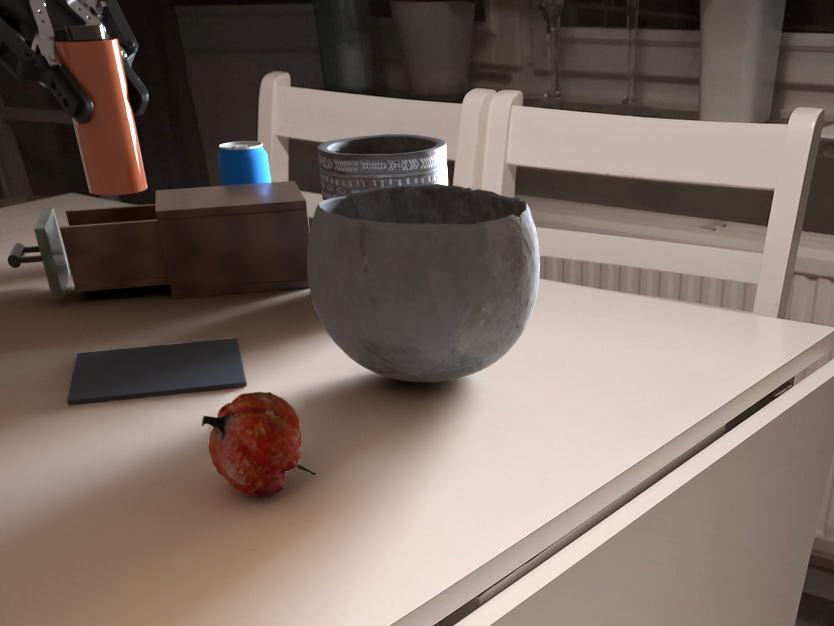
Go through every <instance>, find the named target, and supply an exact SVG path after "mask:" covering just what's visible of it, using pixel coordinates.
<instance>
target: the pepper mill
mask: <svg viewBox="0 0 834 626" xmlns="http://www.w3.org/2000/svg"><path fill="white" fill-rule="evenodd" d="M63 31H64V35H65V39H61V40H56V41H54V42H55V46H56V49H57V52H58V55H59V57H60V61H61V62H60V66H67V68H68V69H69V70H70V72H71V73H72V75H73V76H74V77H75V79H76V80H77V81H78V83H79V84H80V86H81V87H82V88H83V90H84V91H85V93H86V94H87V95H88V97H89V98H90V99H91V101H92V103H93V112H92V115H91V118H90V121H89V123H86V124H79V123H78V122H77V121H76V120H75V118H72V117H71V119H72V123H73V128H74V132H75V137H76V141H77V145H78V149H79V152H80V153H79V154H80V157H81V162H82V167H83V171H84V175H85V179H86V183H87V187H88V191H89V193H90V194H92V195H95V196H107V197H109V196H110V197H111V196H124V195H125V196H126V195H132V194H136V193H141V192H144V191H146V190H148V188H149V187H148V182H147V176H146V170H145V167H144V161H143V156H142V152H141V146H140V142H139V141H140V140H139V136H138V131H137V126H136V121H135V116H134V115H133V111H132V106H131V101H130V96H129V91H128V86H127V81H126V76H125V71H124V66H123V61H122V56H121V51H120V46H119V41H118V38H114V37H106V34H105V29H104V25H103V24H101V23H84V24H68V25H63Z"/></svg>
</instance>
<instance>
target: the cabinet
mask: <svg viewBox="0 0 834 626" xmlns="http://www.w3.org/2000/svg"><path fill="white" fill-rule="evenodd" d="M155 204H156V205H155V212H156V217H157V222H158V227H159V232H160V237H161V242H162V247H163V252H164V257H165V262H166V267H167V272H168V277H169V282H170V284H169V286H170V292H171V297H172V300H177V299H178V300H179V299H188V298H199V297H211V296H212V297H213V296H223V295H235V294H243V293H244V294H245V293H246V294H247V293H255V292H256V293H257V292H269V291H279V290H280V291H281V290H290V289H291V290H292V289H301V288H302V289H303V288H309V281H308V272H307V250H308V241H309V233H310V229H311V228H310V222H309V214H308V203H307V200H306V198H305V196H304V194H303V193H302V191H301V189H300V188H299V186H298V185H297V183H296V181H295V180H287V181H275V182H274V181H273V182H272V181H271V183H256V184H242V185H227V186H222V185H215V186H200V187H187V188H186V187H185V188H184V187H183V188H172V189H157V190H155Z"/></svg>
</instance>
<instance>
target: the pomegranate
mask: <svg viewBox="0 0 834 626" xmlns="http://www.w3.org/2000/svg"><path fill="white" fill-rule="evenodd" d="M205 425H209V426H211V427H212V429H211V431H210V432H209V435H208V441H207V443H208V444H207V449H208V454H209V457H210V460H211V463H212V466H213V467H214V468H215V470H216V472H217V474H219V475H220V476H221V477H222V478H223V479H224V480H225V481H227V483H228V484H229V485H230V486H231V488H233V489H234V490H235V491H237V492H239V493H240V494H242V495H244V496H248V497H249V498H250V497H251V498H272V497H273V496H275V495H277V494H279V493H280V492H282V491H283V490H284V488H285V486H286V482H287V474H286V473H287V472H289V471H292V470H295V469H296V468H297V469H298V470H301V471H303V472H306V473H308V474H310V475H312V476H316V475H317V472H315V471H312V470H311V469H309V468H307V467H305V466H304V465H301V464H299V463H300V462H301V459H302V451H301V446H302V443H303V440H302V439H303V438H302V430H301V424H300V418H299V415H298V413H297V412H296V410H295V408H294V407H293V406H292V405H291V404H289V402H288V401H287V400H286V399H285V398H283V397H281V396H278V395H277V394H274V393H272V392H270V391H268V392H264V391H254V392H247V393H246V392H245V393H241V394H239V395H238V396H237V397H235V398H234V399H233V400H232V401H231V402H228V403H226V404H224V405H222V406H221V407H220V409H218V411H217V416H209V415H203V417H202V421H201V427H204V426H205Z"/></svg>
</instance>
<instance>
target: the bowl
mask: <svg viewBox="0 0 834 626" xmlns="http://www.w3.org/2000/svg"><path fill="white" fill-rule="evenodd" d="M309 229H310V233H309V241H308V250H307V272H308V281H309V287H308V288H309V293H310V297H311V300H312V304H313V307H314V310H315V312H316V315H317V317H318V319H319V321H320V323H321V324H322V326H323V328H324V330H325V332H326V333H327V335H328V336H329V337H330V339H331V340H332V342H334V344H335V345H336V346H337V347H338V348H339V349H340V350H341V351H342V352H344V354H345V355H346V356H347V357H348V358H349V359H351V360H352V361H353V362H355V364H358V365H360V366H361V367H363V368H365V369H366V370H368V371H370V372H372V373H375V374H377V375H380V376H383V377H385V378H388V379H392V380H397V381H402V382H411V383H425V384H426V383H440V382H447V381H452V380H458V379H460V378H464V377H468V376H471V375H474V374H477V373H479V372H482V371H483V370H485V369H487V368H489V367H490V366H492V365H493V364H495V363H496V362H498V361H499V360H500V359H502V357H504V356H505V355H506V354H507V353H509V352H510V350H511V349H512V348H513V347H514V345H515V344H516V343H517V342H518V341H519V339H520V337H521V336H522V334H523V333H524V331H526V328H527V327H528V325H529V322H530V320H531V317H532V314H533V312H534V309H535V306H536V303H537V297H538V291H539V285H540V277H541V276H540V275H541V259H540V258H541V257H540V256H541V254H540V247H539V239H538V234H537V230H536V229H537V228H536V224H535V222H534V219H533V216H532V213H531V209H530V207H529V205H528V203H527V202H526V201H525V200H523V199H521V198H519V197H513V196H506V195H502V194H498V193H497V192H494V191H491V190H486V189H480V188H476V189H473V188H471V187H464V186H461V185H452V184H451V185H450V184H448V185H441V184H428V185H403V186H385V187H379V188H372V189H368V190H364V191H361V192H353V193H351V194H349V195H346V196H341V197H335V198H330V199H327V200H323V199H322V200H321V201H320V202H319V203H318V204H317V206H316V207H315V210H314V212H313V218H312V221H311V224H310V228H309Z"/></svg>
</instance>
